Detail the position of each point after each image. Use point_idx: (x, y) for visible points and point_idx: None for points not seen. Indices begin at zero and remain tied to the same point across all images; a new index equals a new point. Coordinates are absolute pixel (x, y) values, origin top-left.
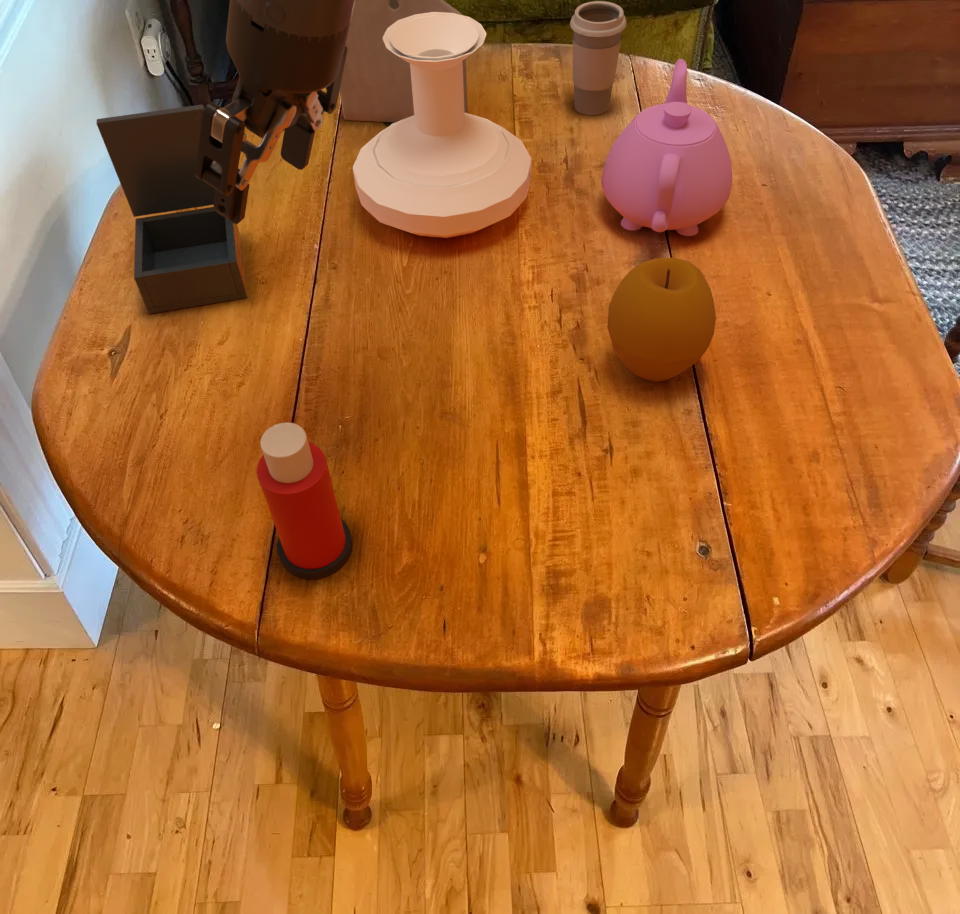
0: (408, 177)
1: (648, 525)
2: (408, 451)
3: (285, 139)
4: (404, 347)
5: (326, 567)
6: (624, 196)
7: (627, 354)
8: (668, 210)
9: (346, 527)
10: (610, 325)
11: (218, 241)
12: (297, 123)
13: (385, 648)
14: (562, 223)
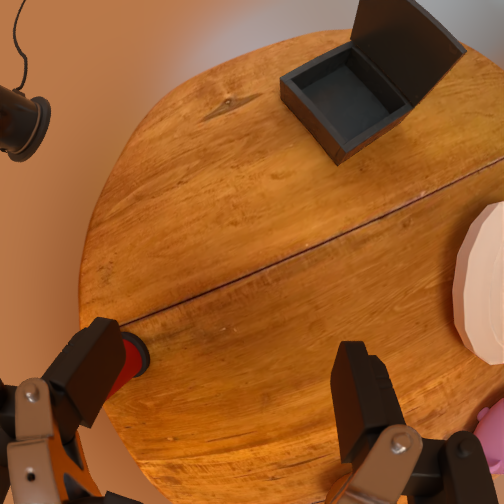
0: (496, 283)
1: (230, 495)
2: (222, 384)
3: (351, 382)
4: (329, 339)
5: None
6: (488, 430)
7: (328, 496)
8: None
9: (142, 372)
10: None
11: (384, 107)
12: (361, 447)
13: (104, 404)
14: (484, 376)
